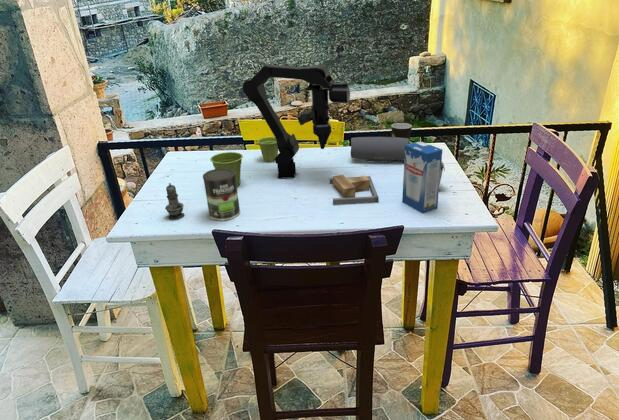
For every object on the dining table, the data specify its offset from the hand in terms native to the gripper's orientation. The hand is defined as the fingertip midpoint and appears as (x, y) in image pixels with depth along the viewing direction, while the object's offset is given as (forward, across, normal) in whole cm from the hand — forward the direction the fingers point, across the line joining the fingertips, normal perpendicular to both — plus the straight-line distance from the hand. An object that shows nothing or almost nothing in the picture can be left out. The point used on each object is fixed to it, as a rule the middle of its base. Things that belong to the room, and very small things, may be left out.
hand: (321, 144), depth 167 cm
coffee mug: (+13, -29, +36) cm, 48 cm away
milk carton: (+13, +28, +30) cm, 43 cm away
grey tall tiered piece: (+13, +26, -50) cm, 58 cm away
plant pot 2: (+13, -22, -21) cm, 33 cm away
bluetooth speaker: (+13, -14, +24) cm, 31 cm away
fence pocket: (+13, +15, +9) cm, 22 cm away
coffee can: (+13, +26, -34) cm, 45 cm away
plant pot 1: (+13, +3, -35) cm, 38 cm away
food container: (+13, +14, +36) cm, 41 cm away
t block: (+13, +13, +10) cm, 21 cm away
